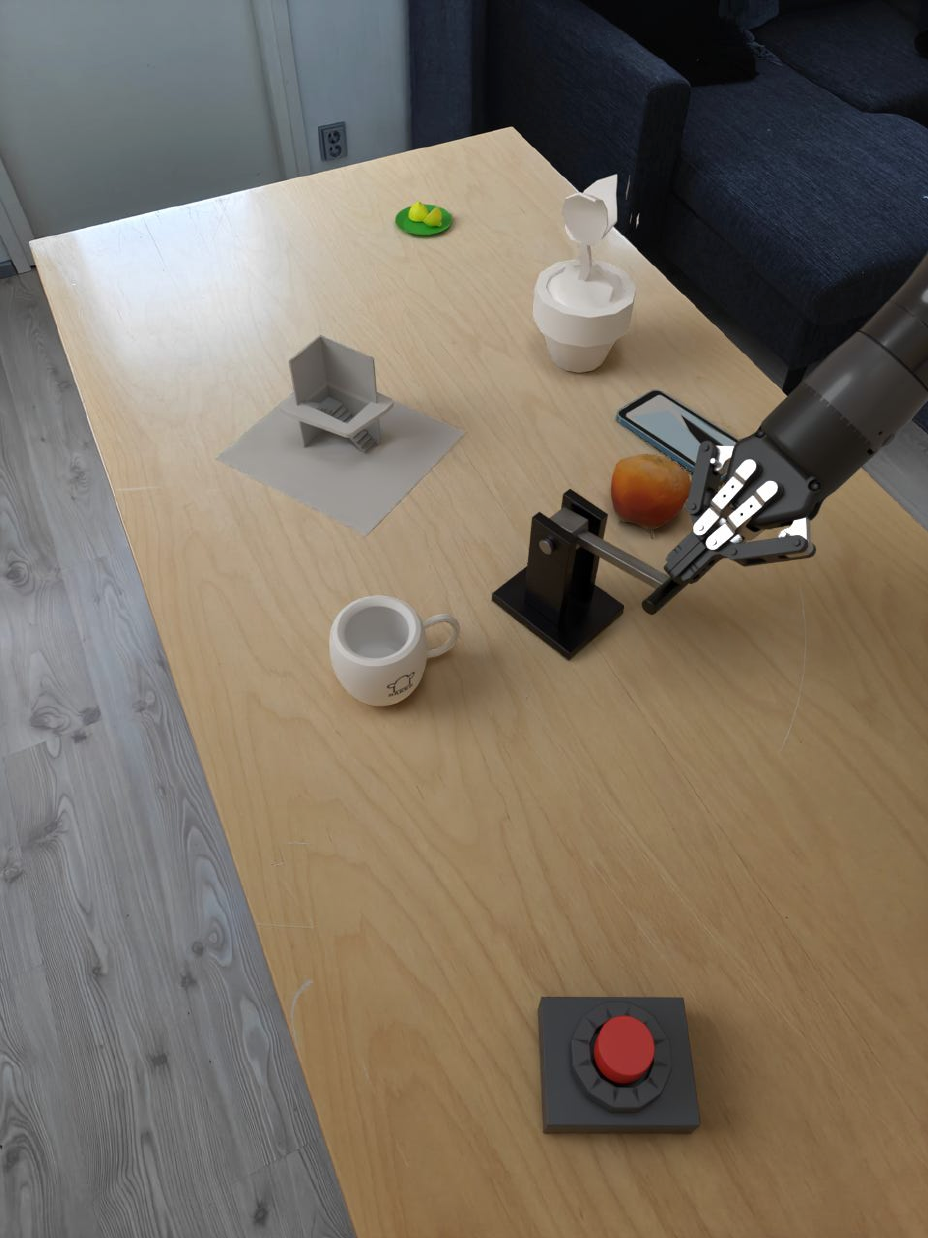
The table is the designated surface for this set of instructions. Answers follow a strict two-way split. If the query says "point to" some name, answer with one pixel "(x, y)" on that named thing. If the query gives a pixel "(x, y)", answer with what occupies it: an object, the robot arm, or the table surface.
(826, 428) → the robot arm
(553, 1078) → the button block
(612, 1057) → the button
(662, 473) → the fruit
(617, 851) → the table surface
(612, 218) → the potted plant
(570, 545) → the bracket
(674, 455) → the smartphone
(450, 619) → the mug
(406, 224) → the plate of lemons
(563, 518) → the lever
